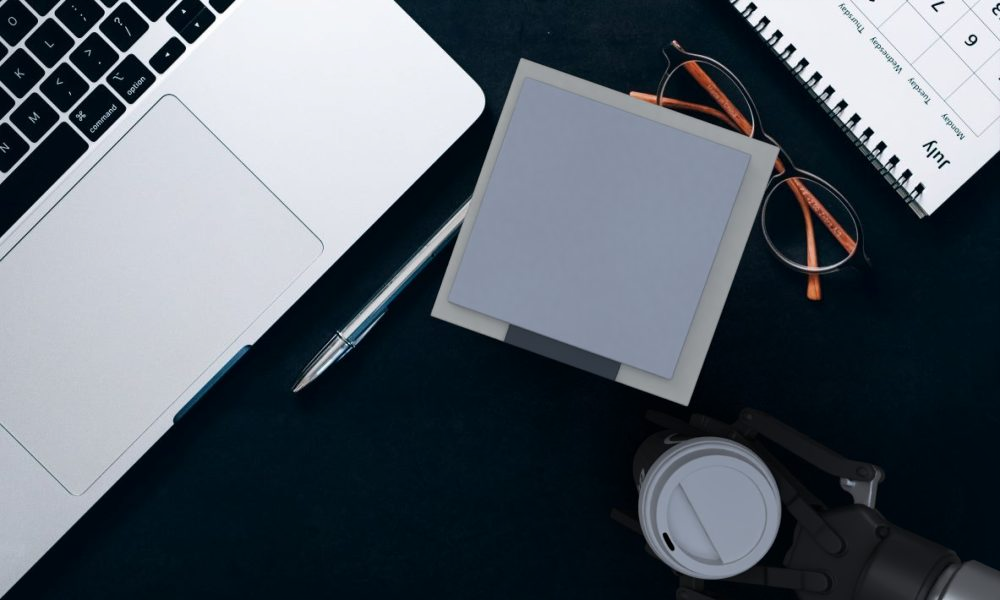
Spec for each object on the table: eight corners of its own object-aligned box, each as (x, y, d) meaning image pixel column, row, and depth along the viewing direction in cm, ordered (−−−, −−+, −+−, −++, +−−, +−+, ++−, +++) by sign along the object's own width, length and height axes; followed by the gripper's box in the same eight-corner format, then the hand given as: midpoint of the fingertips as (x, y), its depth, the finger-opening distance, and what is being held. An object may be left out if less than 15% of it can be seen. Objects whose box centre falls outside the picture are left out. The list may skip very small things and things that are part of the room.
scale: (678, 400, 44) (691, 409, 41) (435, 314, 44) (428, 316, 41) (766, 155, 44) (786, 144, 40) (520, 69, 44) (520, 52, 41)
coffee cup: (608, 417, 68) (635, 450, 53) (722, 405, 68) (782, 434, 53) (620, 531, 68) (651, 596, 53) (735, 519, 68) (798, 581, 53)
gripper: (903, 764, 51) (622, 584, 67) (1014, 458, 50) (705, 352, 67) (859, 788, 45) (566, 586, 62) (982, 445, 45) (655, 333, 61)
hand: (638, 464), depth 64 cm, fingers closed on coffee cup, 7 cm apart
